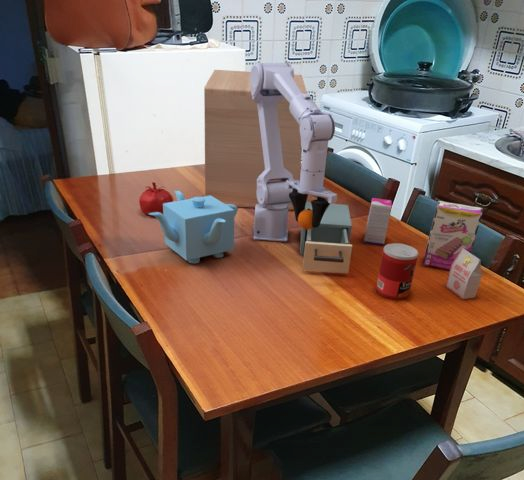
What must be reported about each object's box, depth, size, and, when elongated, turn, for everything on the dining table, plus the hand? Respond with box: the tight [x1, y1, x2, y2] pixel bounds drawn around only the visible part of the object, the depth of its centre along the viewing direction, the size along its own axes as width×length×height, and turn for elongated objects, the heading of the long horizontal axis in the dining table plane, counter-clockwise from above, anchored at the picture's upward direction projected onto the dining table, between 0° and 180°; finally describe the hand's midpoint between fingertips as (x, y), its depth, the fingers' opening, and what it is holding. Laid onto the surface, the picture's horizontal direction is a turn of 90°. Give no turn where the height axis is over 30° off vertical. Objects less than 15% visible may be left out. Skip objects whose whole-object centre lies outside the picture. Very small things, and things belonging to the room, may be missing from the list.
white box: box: [445, 248, 483, 300], centre depth 131 cm, size 4×7×10 cm, turn 20°
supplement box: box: [363, 197, 393, 246], centre depth 154 cm, size 6×6×12 cm
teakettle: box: [148, 190, 239, 264], centre depth 140 cm, size 19×19×15 cm
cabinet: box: [299, 201, 353, 256], centre depth 150 cm, size 16×13×9 cm
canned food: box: [376, 242, 419, 300], centre depth 128 cm, size 8×8×11 cm
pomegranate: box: [138, 181, 174, 216], centre depth 163 cm, size 10×10×9 cm
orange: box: [297, 208, 313, 230], centre depth 137 cm, size 5×5×5 cm
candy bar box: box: [422, 200, 484, 271], centre depth 140 cm, size 11×5×16 cm, turn 71°
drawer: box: [302, 226, 353, 274], centre depth 138 cm, size 20×11×7 cm, turn 176°
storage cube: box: [203, 69, 308, 211], centre depth 178 cm, size 34×29×34 cm
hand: (307, 223), depth 137 cm, fingers closed on orange, 5 cm apart
